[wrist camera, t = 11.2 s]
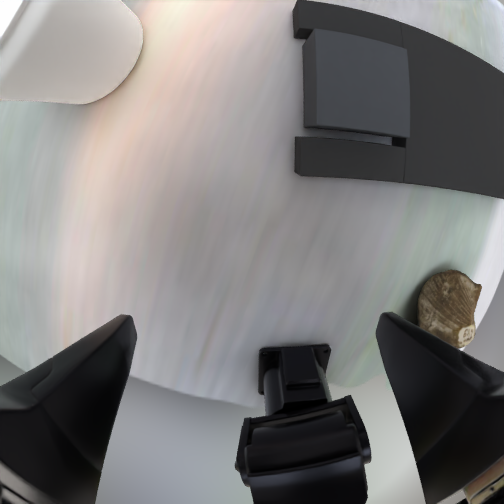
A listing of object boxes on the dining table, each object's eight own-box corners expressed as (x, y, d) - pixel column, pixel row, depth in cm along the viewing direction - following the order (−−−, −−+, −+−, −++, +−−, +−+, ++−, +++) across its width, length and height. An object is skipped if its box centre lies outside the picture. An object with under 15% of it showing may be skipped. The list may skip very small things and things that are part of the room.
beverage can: (152, 0, 12) (77, -87, 1) (142, 95, 15) (17, 62, 4) (63, 26, 12) (-37, -8, 1) (52, 114, 15) (-70, 125, 4)
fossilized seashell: (443, 363, 23) (482, 280, 21) (453, 394, 17) (505, 293, 15) (388, 342, 26) (425, 255, 24) (387, 371, 20) (437, 263, 18)
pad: (384, 136, 17) (410, 138, 13) (303, 127, 17) (316, 125, 13) (383, 59, 14) (407, 49, 11) (302, 45, 14) (314, 27, 11)
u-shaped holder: (502, 196, 18) (515, 201, 16) (294, 172, 18) (299, 176, 16) (504, 82, 13) (517, 82, 12) (292, 10, 13) (297, -1, 11)
